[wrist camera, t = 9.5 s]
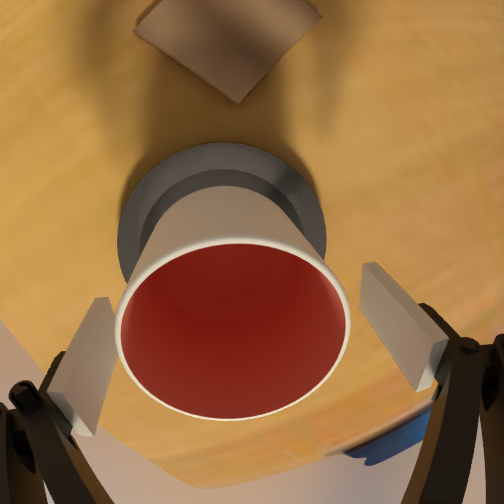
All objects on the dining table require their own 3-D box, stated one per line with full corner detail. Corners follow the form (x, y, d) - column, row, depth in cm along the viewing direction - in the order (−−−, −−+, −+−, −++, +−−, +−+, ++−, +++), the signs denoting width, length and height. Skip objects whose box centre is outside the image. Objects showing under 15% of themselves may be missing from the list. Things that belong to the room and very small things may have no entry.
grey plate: (245, 99, 19) (248, 96, 17) (350, 259, 25) (359, 268, 23) (85, 230, 21) (77, 238, 19) (207, 354, 27) (208, 367, 25)
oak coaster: (221, -45, 14) (222, -52, 13) (317, 21, 17) (323, 16, 16) (136, 35, 16) (132, 31, 15) (237, 105, 19) (238, 103, 18)
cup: (273, 322, 24) (306, 423, 15) (145, 304, 22) (118, 408, 13) (311, 199, 20) (387, 260, 11) (162, 169, 18) (117, 211, 9)
